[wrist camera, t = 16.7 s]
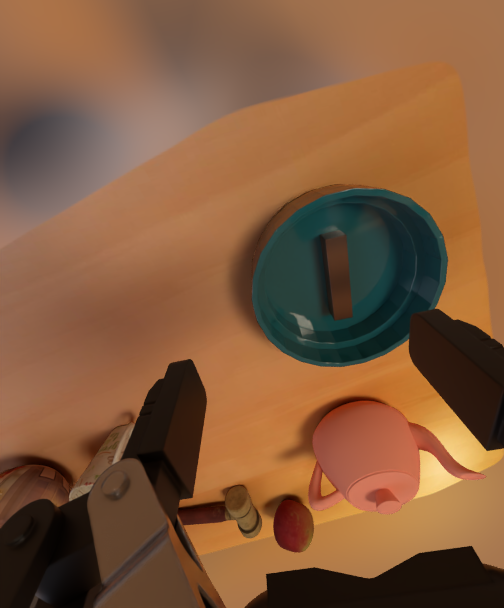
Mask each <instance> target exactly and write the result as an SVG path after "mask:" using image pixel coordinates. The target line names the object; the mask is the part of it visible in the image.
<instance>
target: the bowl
mask: <svg viewBox="0 0 504 608" xmlns="http://www.w3.org/2000/svg"><path fill="white" fill-rule="evenodd" d="M337 230H340V231H342V232H343V233H344V234H346V236H347V249H348V262H349V275H350V287H351V300H352V313H353V317H351V318H346V319H341V320H336V321H334V319H333V317H332V315H331V314H330V312H329V305H328V297H327V289H326V281H325V273H324V265H323V256H322V248H321V240H320V235H321V234H325V233H329V232H333V231H337ZM447 263H448V257H447V252H446V248H445V243H444V238H443V235H442V233H441V231H440V230H439V228H438V226H437V225H436V223H435V221H434V220H433V218H432V216H431V215H430V214H429V213H428V212H427V211H426V210H424V209H423V208H422V207H421V206H419V205H418V204H417V203H416V202H414V201H413V200H412V199H411V198H409V197H406V196H403V195H400V194H397V193H394V192H392V191H389V190H386V189H382V188H375V187H369V186H363V185H345V184H335V185H331V186H327V187H323V188H319V189H315V190H312V191H310V192H308V193H306V194H304V195H302V196H301V197H299V198H297V199H295V200H293V201H291V202H290V203H288V204H287V205H286V206H285V207H284V208H283V209H282V210H281V211H280V212H279V213H278V214H277V215H276V216H275V217H274V218H273V219H272V220H271V221H270V223H269V224H268V226H267V227H266V229H265V230H264V232H263V234H262V235H261V237H260V238H259V240H258V243H257V246H256V250H255V253H254V256H253V259H252V276H251V287H252V303H253V307H254V311H255V315H256V319H257V322H258V323H259V325H260V327H261V328H262V330H263V332H264V333H265V335H266V337H267V338H268V339H269V340H270V341H271V342H272V343H273V344H274V345H275V346H276V347H277V348H279V349H280V350H281V351H282V352H283V353H285V354H287V355H289V356H291V357H293V358H295V359H297V360H299V361H301V362H305V363H309V364H313V365H317V366H325V367H344V366H350V365H355V364H360V363H365V362H368V361H370V360H373V359H375V358H378V357H380V356H383V355H385V354H387V353H389V352H390V351H392V350H393V349H395V348H397V347H398V346H400V345H401V344H403V343H404V342H405V341H407V340H408V339H409V334H410V318H411V315H412V314H413V313H418V312H423V311H427V310H432V309H435V307H436V305H437V303H438V301H439V298H440V296H441V293H442V290H443V288H444V285H445V282H446V273H447Z"/></svg>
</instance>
